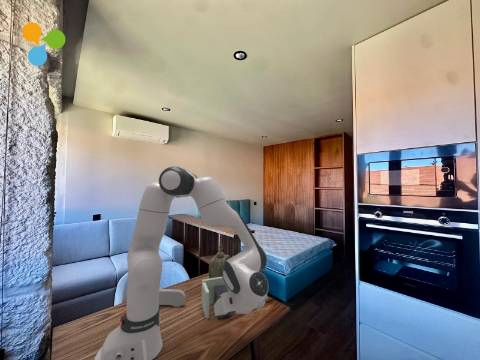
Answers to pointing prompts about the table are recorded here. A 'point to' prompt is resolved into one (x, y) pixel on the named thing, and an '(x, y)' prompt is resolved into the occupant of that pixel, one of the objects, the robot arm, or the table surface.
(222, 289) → the small box
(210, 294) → the rack
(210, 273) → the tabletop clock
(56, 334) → the table surface
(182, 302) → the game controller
